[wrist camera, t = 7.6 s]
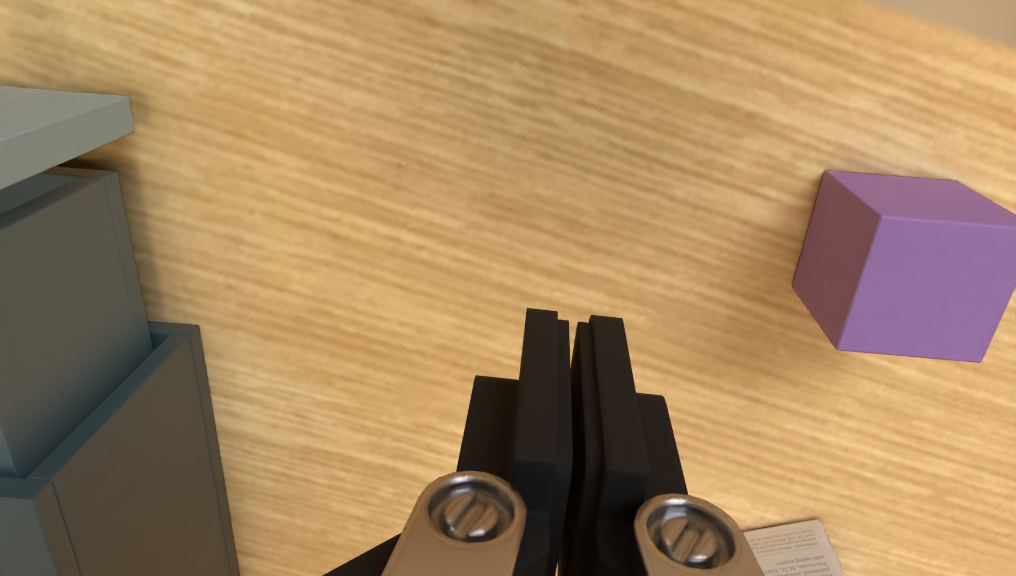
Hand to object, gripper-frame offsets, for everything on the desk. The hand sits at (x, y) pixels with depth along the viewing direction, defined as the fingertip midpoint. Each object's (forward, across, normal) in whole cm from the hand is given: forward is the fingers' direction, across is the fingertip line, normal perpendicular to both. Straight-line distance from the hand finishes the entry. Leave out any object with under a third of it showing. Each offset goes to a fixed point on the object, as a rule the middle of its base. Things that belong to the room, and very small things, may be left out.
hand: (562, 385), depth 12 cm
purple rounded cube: (+13, -11, +1) cm, 17 cm away
